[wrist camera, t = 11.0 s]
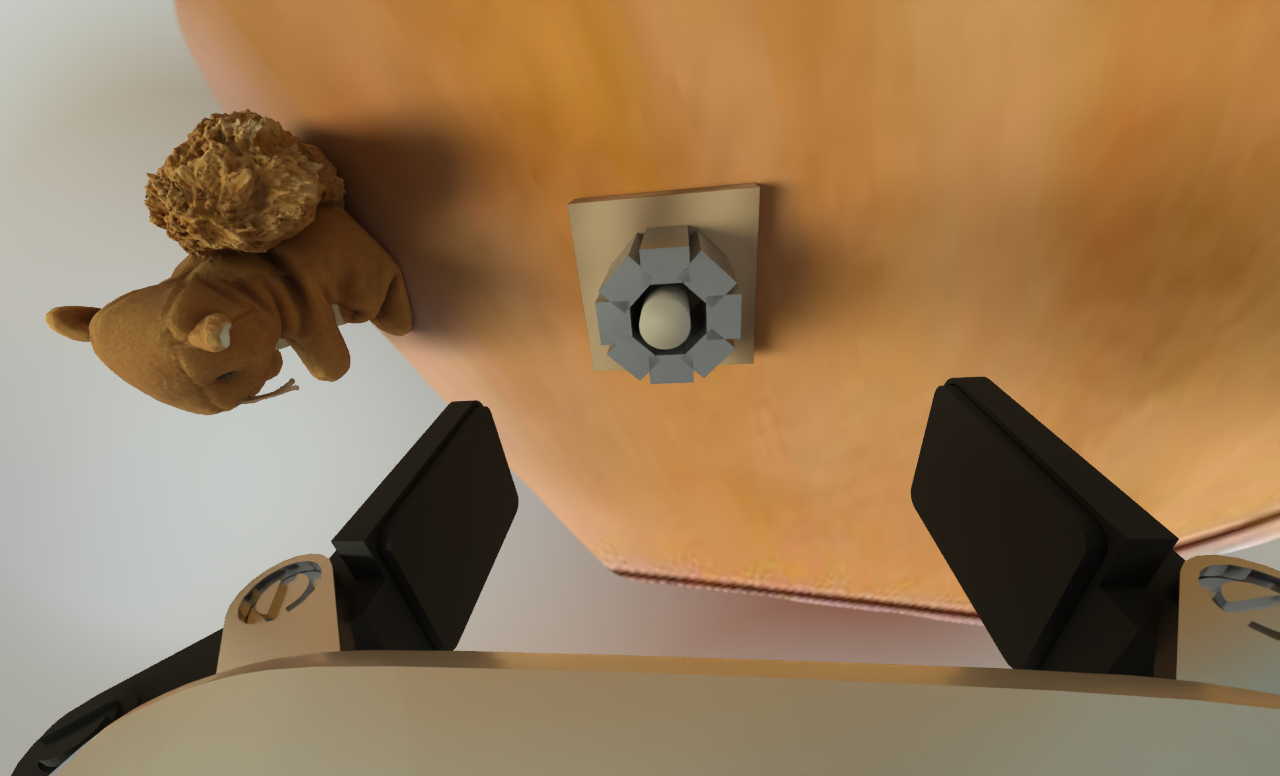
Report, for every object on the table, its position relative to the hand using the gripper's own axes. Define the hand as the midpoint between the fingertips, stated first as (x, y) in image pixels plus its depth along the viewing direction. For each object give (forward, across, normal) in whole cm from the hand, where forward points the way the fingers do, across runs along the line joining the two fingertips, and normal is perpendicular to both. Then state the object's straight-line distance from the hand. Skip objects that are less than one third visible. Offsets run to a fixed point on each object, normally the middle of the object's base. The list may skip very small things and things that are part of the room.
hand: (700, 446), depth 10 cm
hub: (+17, +1, +2) cm, 17 cm away
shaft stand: (+19, +2, +2) cm, 19 cm away
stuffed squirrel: (+19, +22, -2) cm, 29 cm away
